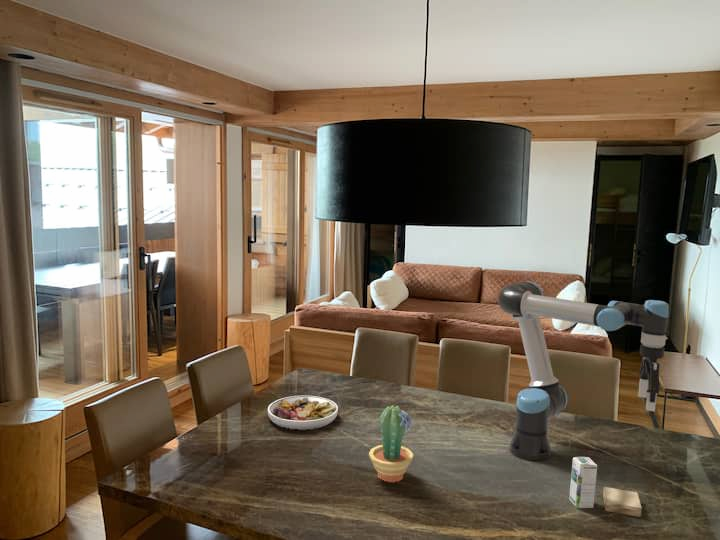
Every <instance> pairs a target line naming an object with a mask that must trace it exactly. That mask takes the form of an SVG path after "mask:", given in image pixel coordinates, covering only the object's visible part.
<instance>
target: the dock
mask: <svg viewBox="0 0 720 540" xmlns="http://www.w3.org/2000/svg"><path fill="white" fill-rule="evenodd" d="M602 490H603V491H602V497H603V504H604V509H605V511H606V512H610V513H615V514H621V515H625V516H632V517H636V518H637V517H639V518H642V509H643V507H642V505H641V501H640V498H639V493H638V492H636V491H632V490H631V491H630V490H624V489H619V488H612V487H607V486H603V489H602Z"/></svg>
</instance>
